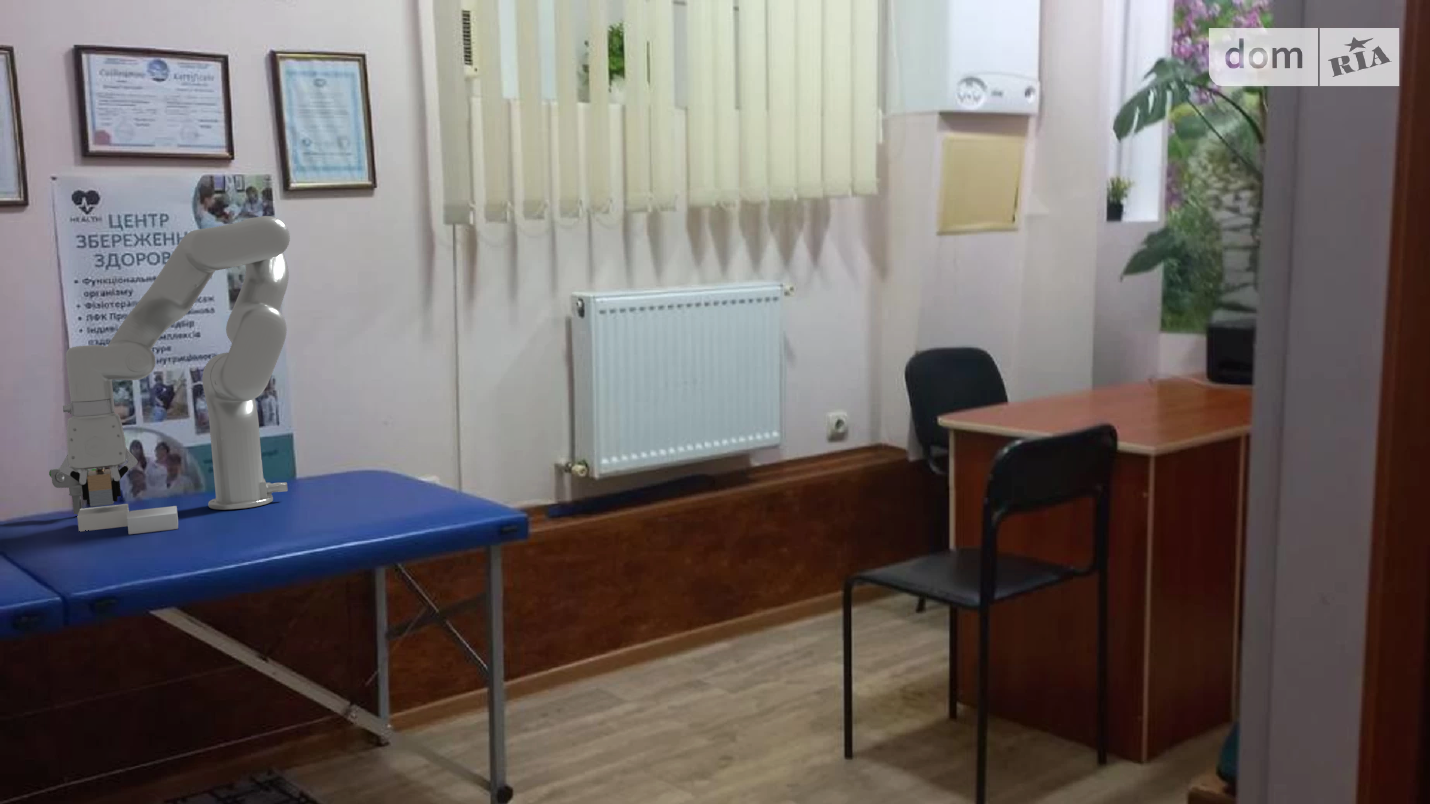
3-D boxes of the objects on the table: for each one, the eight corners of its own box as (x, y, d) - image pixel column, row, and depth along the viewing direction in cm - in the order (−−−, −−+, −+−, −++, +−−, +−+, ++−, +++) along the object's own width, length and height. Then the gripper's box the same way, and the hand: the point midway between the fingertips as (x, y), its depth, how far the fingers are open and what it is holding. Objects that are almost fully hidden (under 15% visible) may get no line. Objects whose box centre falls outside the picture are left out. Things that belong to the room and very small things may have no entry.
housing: (113, 504, 249) (109, 468, 248) (90, 506, 247) (86, 470, 246) (114, 498, 255) (111, 463, 254) (92, 500, 254) (88, 465, 253)
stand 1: (129, 518, 257) (128, 503, 257) (128, 526, 249) (126, 511, 249) (81, 523, 254) (80, 508, 254) (78, 531, 246) (77, 516, 246)
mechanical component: (95, 518, 259) (90, 469, 258) (51, 518, 261) (46, 469, 260) (105, 514, 262) (100, 466, 261) (61, 515, 264) (56, 467, 263)
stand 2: (178, 520, 252) (176, 505, 252) (178, 528, 244) (176, 513, 244) (130, 526, 249) (128, 511, 249) (128, 534, 241) (127, 518, 241)
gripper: (43, 414, 242) (53, 510, 244) (139, 407, 249) (148, 500, 251) (46, 411, 249) (56, 503, 251) (140, 403, 256) (149, 494, 258)
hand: (102, 501), depth 251 cm, fingers closed on housing, 4 cm apart
